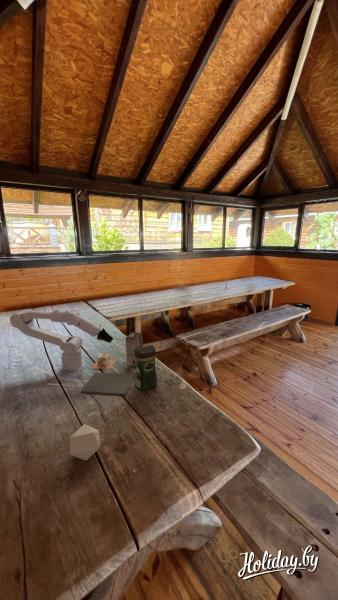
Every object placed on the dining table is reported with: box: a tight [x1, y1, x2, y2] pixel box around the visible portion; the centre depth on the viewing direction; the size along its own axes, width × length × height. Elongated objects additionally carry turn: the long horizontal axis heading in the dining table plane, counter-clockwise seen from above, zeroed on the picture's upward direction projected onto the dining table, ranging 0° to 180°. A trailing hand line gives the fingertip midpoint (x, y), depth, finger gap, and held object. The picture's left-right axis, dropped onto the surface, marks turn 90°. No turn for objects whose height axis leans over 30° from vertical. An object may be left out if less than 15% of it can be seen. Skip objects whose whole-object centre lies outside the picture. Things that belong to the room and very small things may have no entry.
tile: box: [91, 359, 116, 370], centre depth 131 cm, size 10×10×1 cm
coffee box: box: [125, 331, 144, 367], centre depth 131 cm, size 9×6×16 cm
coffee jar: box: [134, 344, 158, 390], centre depth 110 cm, size 10×8×19 cm
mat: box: [80, 371, 136, 396], centre depth 113 cm, size 20×16×1 cm
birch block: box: [96, 352, 111, 367], centre depth 130 cm, size 5×5×5 cm
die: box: [69, 423, 101, 461], centre depth 75 cm, size 8×9×10 cm
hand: (111, 340), depth 125 cm, fingers open, 7 cm apart
